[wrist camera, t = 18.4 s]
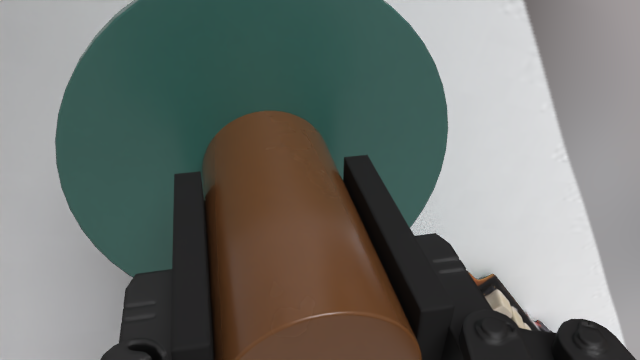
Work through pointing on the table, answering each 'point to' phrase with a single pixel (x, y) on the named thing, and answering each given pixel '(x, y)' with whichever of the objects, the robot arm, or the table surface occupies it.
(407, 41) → the lid
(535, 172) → the table surface
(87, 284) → the table surface
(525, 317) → the mechanical keyboard
